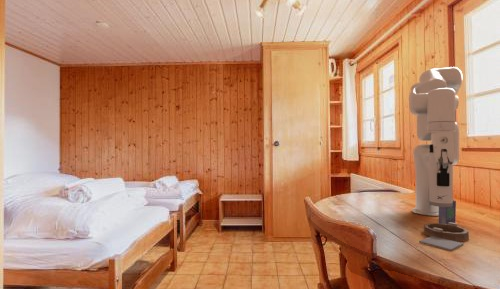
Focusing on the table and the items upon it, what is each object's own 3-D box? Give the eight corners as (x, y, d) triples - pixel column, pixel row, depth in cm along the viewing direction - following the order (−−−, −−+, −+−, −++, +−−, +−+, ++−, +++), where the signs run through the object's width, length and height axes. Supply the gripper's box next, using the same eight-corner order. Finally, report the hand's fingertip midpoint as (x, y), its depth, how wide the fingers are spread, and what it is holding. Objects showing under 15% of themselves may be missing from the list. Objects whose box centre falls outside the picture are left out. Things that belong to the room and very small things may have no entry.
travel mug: (443, 208, 87) (443, 142, 87) (424, 203, 94) (424, 142, 94) (458, 206, 89) (458, 142, 89) (438, 202, 96) (438, 142, 96)
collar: (434, 227, 109) (434, 219, 109) (474, 236, 99) (474, 226, 99) (417, 234, 102) (417, 224, 102) (458, 244, 91) (458, 233, 91)
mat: (432, 237, 98) (432, 235, 98) (463, 245, 91) (463, 243, 91) (419, 242, 93) (419, 240, 93) (451, 251, 85) (451, 249, 85)
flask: (444, 228, 109) (444, 197, 109) (435, 226, 111) (435, 196, 111) (457, 224, 114) (457, 195, 114) (448, 222, 116) (448, 194, 117)
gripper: (461, 126, 82) (461, 189, 82) (449, 129, 98) (449, 182, 98) (431, 126, 85) (431, 187, 85) (424, 129, 101) (424, 181, 101)
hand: (441, 184), depth 92 cm, fingers closed on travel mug, 6 cm apart
